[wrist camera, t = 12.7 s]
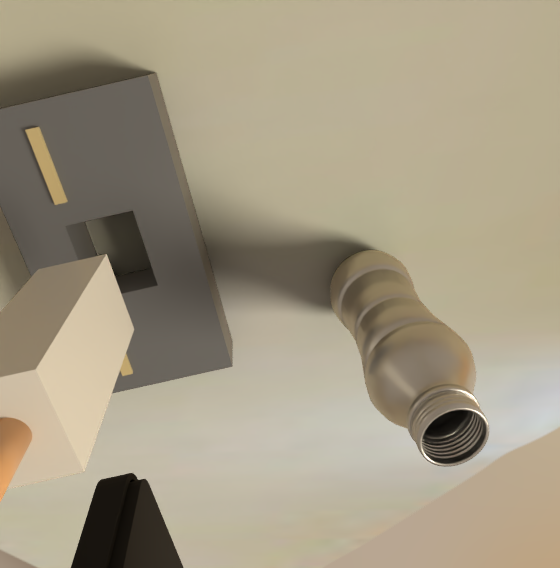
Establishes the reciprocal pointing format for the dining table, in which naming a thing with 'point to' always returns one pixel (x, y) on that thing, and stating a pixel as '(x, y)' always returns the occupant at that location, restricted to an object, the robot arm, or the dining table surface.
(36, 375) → the plug
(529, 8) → the dining table surface
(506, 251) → the dining table surface
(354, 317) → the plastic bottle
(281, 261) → the dining table surface
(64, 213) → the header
